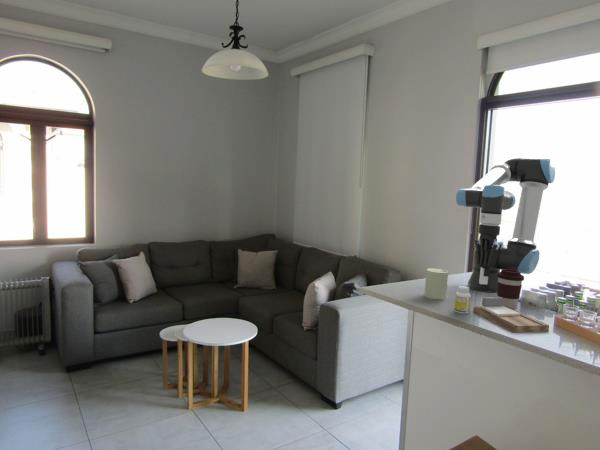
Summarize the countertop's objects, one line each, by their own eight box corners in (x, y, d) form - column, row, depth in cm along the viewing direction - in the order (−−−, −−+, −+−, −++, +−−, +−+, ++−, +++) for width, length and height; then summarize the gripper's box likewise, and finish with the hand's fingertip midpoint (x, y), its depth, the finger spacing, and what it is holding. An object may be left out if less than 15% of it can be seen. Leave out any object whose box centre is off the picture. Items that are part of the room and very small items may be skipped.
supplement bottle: (462, 309, 165) (464, 285, 164) (472, 313, 160) (474, 288, 159) (451, 310, 163) (453, 285, 162) (460, 314, 158) (463, 289, 157)
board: (504, 311, 166) (505, 305, 166) (548, 331, 145) (549, 324, 144) (473, 311, 163) (473, 305, 162) (513, 332, 141) (514, 325, 141)
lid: (501, 307, 163) (502, 297, 163) (519, 315, 153) (521, 304, 153) (479, 307, 161) (480, 297, 160) (497, 316, 151) (498, 305, 151)
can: (447, 300, 177) (450, 272, 176) (424, 298, 179) (427, 270, 177) (444, 295, 186) (447, 268, 185) (423, 292, 188) (425, 266, 186)
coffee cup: (488, 303, 176) (492, 268, 174) (505, 302, 180) (509, 267, 178) (508, 311, 167) (512, 273, 165) (526, 309, 170) (530, 272, 169)
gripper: (470, 222, 169) (464, 279, 172) (492, 226, 157) (485, 287, 159) (487, 223, 171) (480, 280, 173) (509, 226, 158) (502, 288, 161)
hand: (483, 283), depth 166 cm, fingers closed
